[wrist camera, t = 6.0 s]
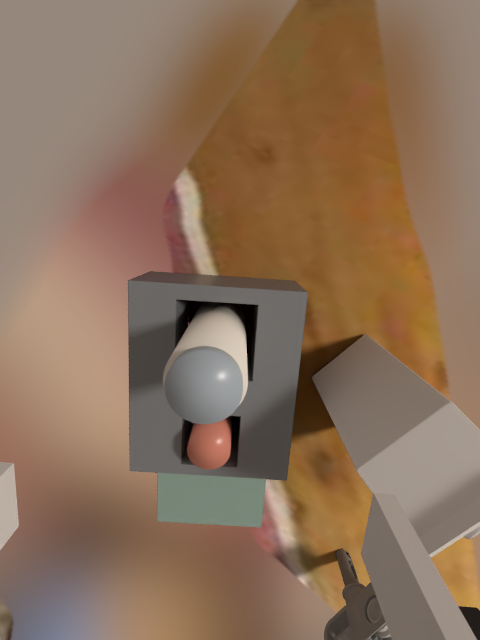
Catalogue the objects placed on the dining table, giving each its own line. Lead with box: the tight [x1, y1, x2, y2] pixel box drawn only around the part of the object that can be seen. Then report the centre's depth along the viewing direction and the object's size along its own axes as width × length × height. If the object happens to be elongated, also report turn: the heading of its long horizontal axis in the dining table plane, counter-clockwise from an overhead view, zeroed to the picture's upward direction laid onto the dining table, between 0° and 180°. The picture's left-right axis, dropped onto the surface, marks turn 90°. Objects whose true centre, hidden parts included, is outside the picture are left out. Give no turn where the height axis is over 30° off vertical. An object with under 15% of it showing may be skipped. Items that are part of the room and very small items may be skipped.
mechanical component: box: [324, 549, 392, 640], centre depth 37 cm, size 3×10×10 cm, turn 142°
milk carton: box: [312, 335, 480, 558], centre depth 27 cm, size 7×7×19 cm
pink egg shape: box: [187, 416, 232, 470], centre depth 33 cm, size 4×4×8 cm
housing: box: [128, 271, 308, 480], centre depth 33 cm, size 14×17×7 cm
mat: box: [157, 473, 266, 527], centre depth 40 cm, size 12×9×1 cm
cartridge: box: [163, 301, 248, 424], centre depth 28 cm, size 5×5×16 cm
